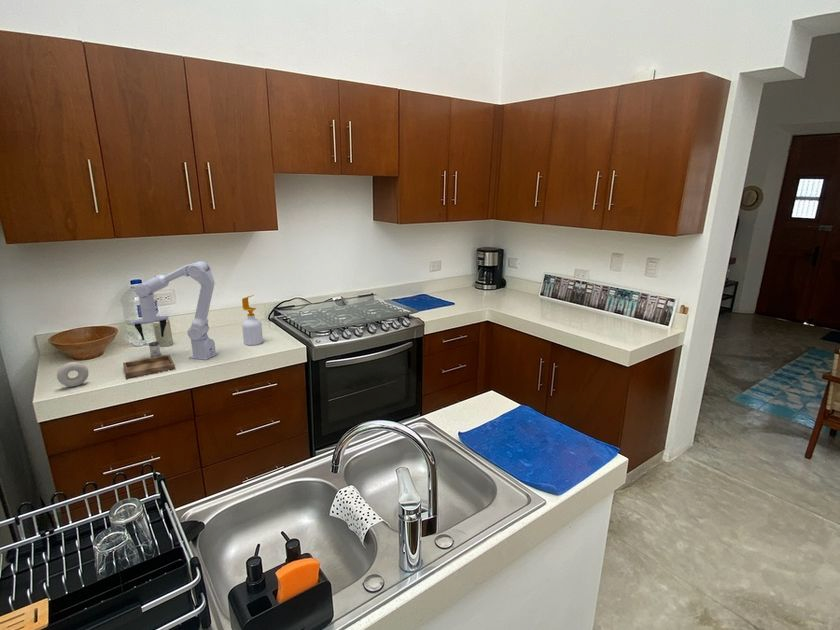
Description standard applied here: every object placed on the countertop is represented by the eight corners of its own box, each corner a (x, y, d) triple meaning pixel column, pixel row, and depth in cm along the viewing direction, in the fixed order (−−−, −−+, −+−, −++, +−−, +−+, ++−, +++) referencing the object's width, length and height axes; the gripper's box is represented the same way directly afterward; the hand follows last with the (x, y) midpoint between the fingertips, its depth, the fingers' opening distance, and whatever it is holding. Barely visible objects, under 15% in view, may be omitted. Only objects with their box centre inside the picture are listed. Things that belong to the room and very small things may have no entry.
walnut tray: (170, 359, 207) (169, 354, 207) (175, 369, 196) (174, 364, 196) (123, 368, 197) (122, 362, 196) (126, 379, 186) (125, 373, 186)
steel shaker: (163, 356, 211) (161, 341, 209) (156, 359, 207) (154, 344, 206) (155, 355, 212) (153, 341, 210) (148, 358, 208) (146, 344, 206)
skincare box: (173, 343, 228) (170, 320, 225) (169, 346, 224) (165, 322, 221) (160, 343, 228) (157, 320, 225) (156, 346, 224) (152, 322, 220)
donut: (60, 391, 175) (54, 367, 172) (59, 388, 178) (53, 364, 175) (91, 383, 182) (86, 360, 179) (90, 381, 184) (85, 358, 181)
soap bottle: (255, 346, 225) (250, 298, 218) (240, 344, 228) (235, 296, 221) (266, 340, 233) (262, 294, 226) (252, 338, 236) (247, 292, 229)
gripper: (165, 305, 211) (169, 332, 214) (128, 309, 203) (133, 338, 206) (167, 308, 205) (171, 336, 209) (129, 313, 197) (135, 342, 201)
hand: (152, 338), depth 207 cm, fingers open, 7 cm apart
